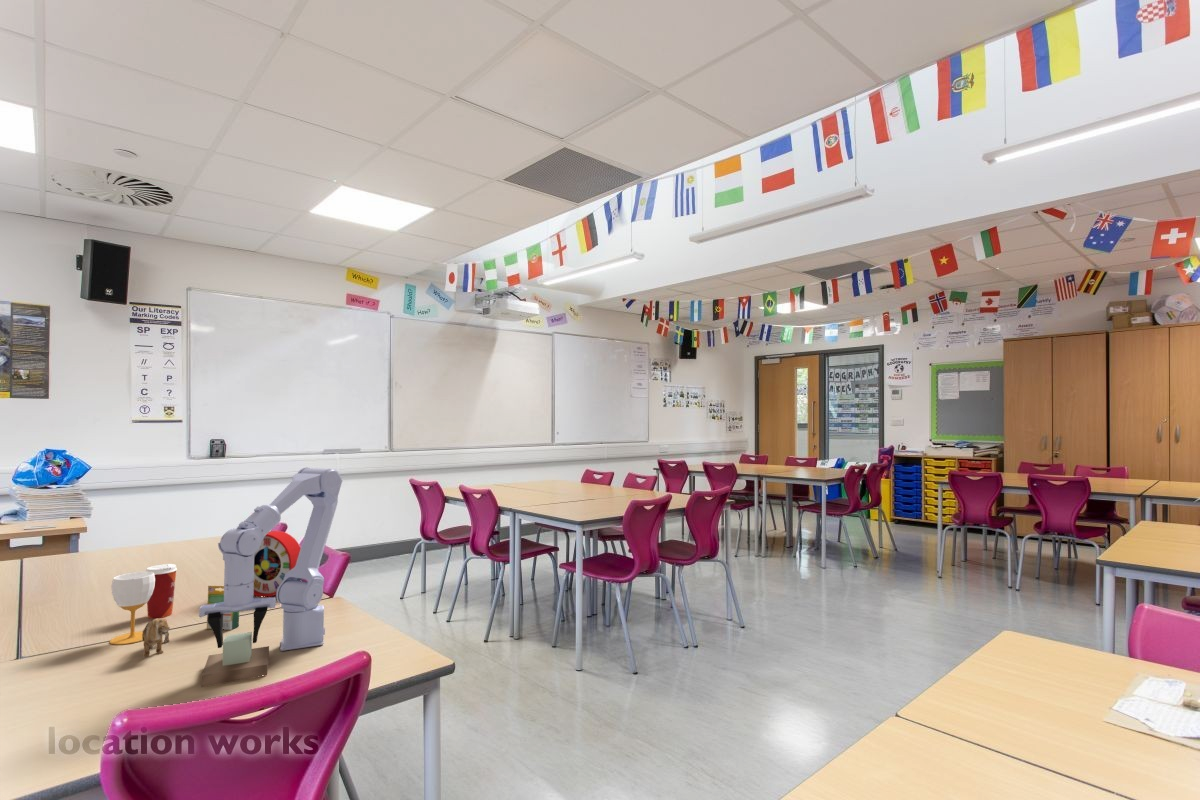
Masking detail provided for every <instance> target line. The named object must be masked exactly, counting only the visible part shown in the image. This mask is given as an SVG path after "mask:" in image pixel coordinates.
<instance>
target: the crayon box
mask: <svg viewBox="0 0 1200 800" xmlns="http://www.w3.org/2000/svg"><path fill="white" fill-rule="evenodd" d="M221 589H223V590H221ZM220 602H224V585H208V586H207V605H209V604H215V603H220ZM207 619H208V615H206V629H207V630H212V628H211V627H210V625H209V624H208V621H207ZM239 625H240V611H237V612H229V613H223V628H222V630H223V629H224V630H228V631H232V630H234V629H237V628H238V627H239Z"/></svg>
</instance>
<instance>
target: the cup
mask: <svg viewBox="0 0 1200 800" xmlns="http://www.w3.org/2000/svg"><path fill="white" fill-rule="evenodd" d="M154 586H155V575H154V573H153V572H146V571H134V572H129V573H123V574H119V575H116V576H114V577H113V578H112V581H111V595H112V598H113V601H114V603H115V604H116V606H118V607H119V608H121V609H122V610H124V611H129V612H130V632H129V633H123V634H121V635H117V636H115V637H113V638H111V639H110V640H109V644H110V645H114V646H115V645H116V646H117V645H118V646H122V645H131V644H136V643H141V642H144V641H143V640H142V634H143V630H142V631H141V630H140V631H136V630H135V624H136V611H137V610H138V609H140V608H143V607H144V606H145V604H146V605H147V602H148V601H149V599H150V597H151V595H152V593H153V590H154Z"/></svg>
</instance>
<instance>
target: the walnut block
mask: <svg viewBox="0 0 1200 800" xmlns="http://www.w3.org/2000/svg"><path fill="white" fill-rule="evenodd" d="M269 659H270V646H269V645H268V646H267V645H266V646H263V647H262V646H261V647H254V648H252V654H251V657H250V660H249V662H245V663H239V664H232V665H226V666H222V665H223V652H222V653H216V654H211V655H210V654H209V655H208V657H207V660H206V663H205V664H204V665H205V666H204V667H203V668H204V669H203V671H202V673H201V688H203V687H204V688H205V687H210V686H217V685H221V684H222V685H223V684H227V683H232V682H239V681H244V680H250V678H251V679H254V678H253V677H256V678H259V677H258V676H262V675H267V676H268V670H267V669H269ZM262 677H263V676H262Z"/></svg>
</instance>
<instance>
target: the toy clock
mask: <svg viewBox="0 0 1200 800" xmlns="http://www.w3.org/2000/svg"><path fill="white" fill-rule="evenodd" d="M300 549H301V545H300V544H299V542H298V541H297V539H296V538H295V537H294V536H292V535H291V534H290V533H288V532H285V531H281V530H271V531H270V532H269V533H268V534H267V535H266V536H264V539H263V540H262V542H261V546H260V548H259V550H258V551H257V552H255V553H254V595H253V596H255V597H259V596H263V597H262V598H270V597H273V596H276V593H277V589H278V587H279V585H280V584H281V583H282V581H283V579H284V577H285V574H286V573H287V572H288V571H290V570H291V569H293V568H294V567H295V565H296V562H297V559H298V556H299V552H300ZM264 596H265V597H264ZM267 596H268V597H267Z"/></svg>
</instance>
